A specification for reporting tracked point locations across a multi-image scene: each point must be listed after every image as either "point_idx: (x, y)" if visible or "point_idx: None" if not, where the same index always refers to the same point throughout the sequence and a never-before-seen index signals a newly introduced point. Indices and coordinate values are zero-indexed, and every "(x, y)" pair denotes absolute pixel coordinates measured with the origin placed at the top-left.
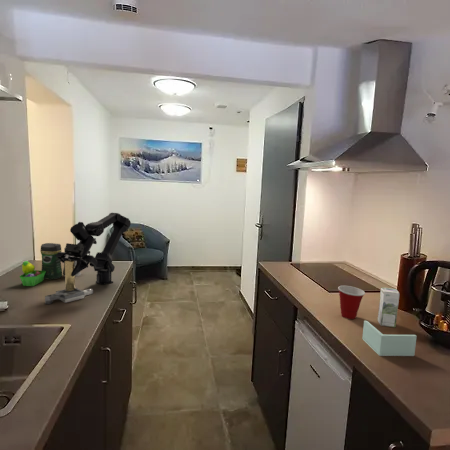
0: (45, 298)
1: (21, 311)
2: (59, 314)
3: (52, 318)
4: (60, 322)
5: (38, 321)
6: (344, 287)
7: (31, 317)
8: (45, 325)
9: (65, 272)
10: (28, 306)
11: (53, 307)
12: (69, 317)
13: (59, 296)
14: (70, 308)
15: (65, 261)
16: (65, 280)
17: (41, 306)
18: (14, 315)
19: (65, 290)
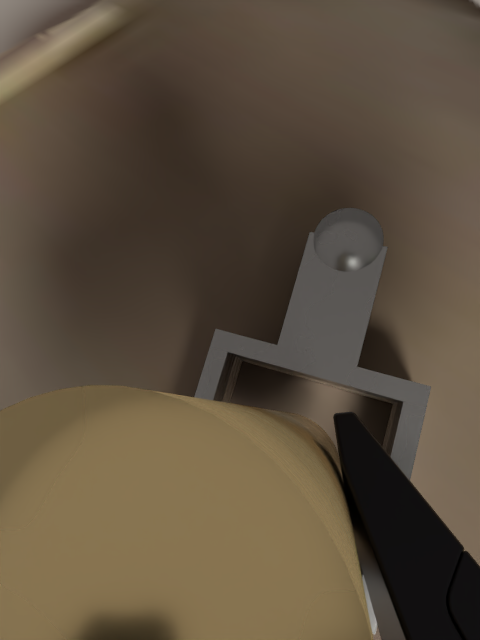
0: (352, 213)
1: (366, 59)
2: (98, 170)
3: (90, 112)
4: (13, 107)
5: (128, 47)
6: None
7: (212, 50)
8: (56, 44)
9: (264, 410)
10: (421, 134)
11: (232, 225)
12: (14, 175)
13: (287, 319)
14: (109, 277)
15: (199, 450)
16: (292, 415)
17: (331, 189)
18: (337, 4)
19: None
